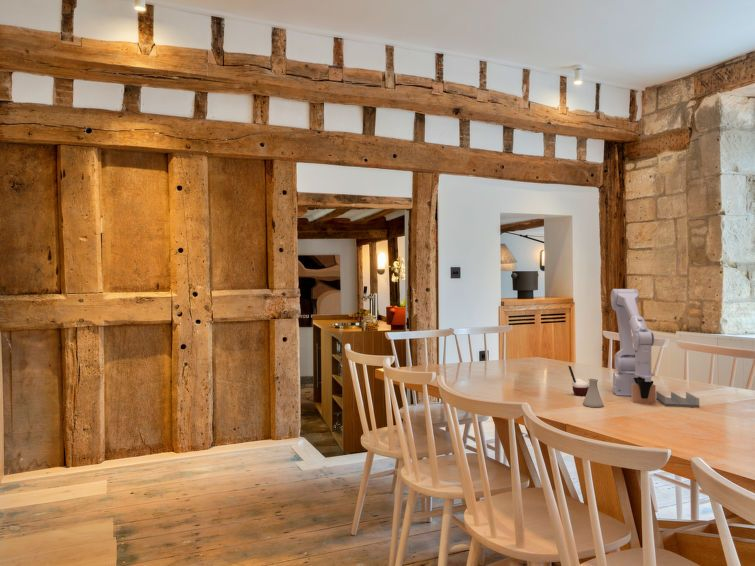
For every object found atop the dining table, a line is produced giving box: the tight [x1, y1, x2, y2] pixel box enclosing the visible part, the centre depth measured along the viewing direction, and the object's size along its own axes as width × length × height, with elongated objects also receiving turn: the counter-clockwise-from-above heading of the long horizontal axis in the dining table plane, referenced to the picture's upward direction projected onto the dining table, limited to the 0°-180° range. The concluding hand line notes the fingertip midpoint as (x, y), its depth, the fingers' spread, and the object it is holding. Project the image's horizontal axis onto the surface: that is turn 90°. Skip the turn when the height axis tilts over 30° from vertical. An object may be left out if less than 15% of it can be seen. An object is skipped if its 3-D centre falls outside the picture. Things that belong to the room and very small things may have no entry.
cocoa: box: [568, 365, 589, 397], centre depth 229 cm, size 10×6×12 cm, turn 77°
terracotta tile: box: [630, 383, 657, 405], centre depth 215 cm, size 8×3×7 cm, turn 78°
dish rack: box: [656, 390, 700, 409], centre depth 212 cm, size 12×12×4 cm
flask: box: [582, 378, 605, 408], centre depth 209 cm, size 7×7×10 cm
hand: (643, 397), depth 215 cm, fingers closed on terracotta tile, 3 cm apart
